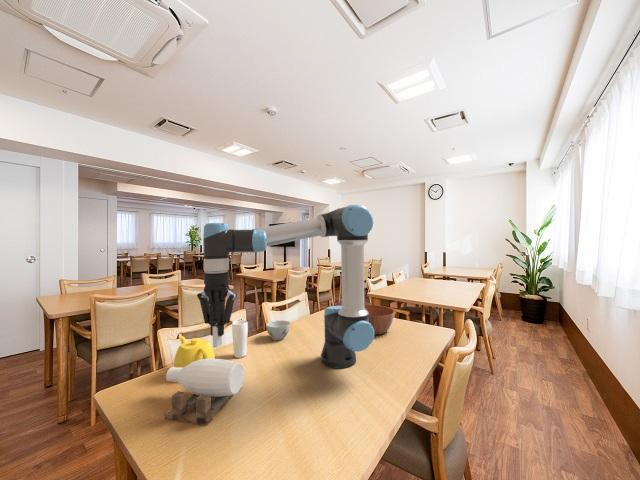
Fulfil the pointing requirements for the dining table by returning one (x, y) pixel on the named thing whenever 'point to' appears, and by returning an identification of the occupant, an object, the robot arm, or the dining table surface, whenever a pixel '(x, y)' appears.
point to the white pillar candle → (240, 338)
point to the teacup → (278, 329)
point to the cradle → (200, 402)
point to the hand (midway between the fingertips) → (217, 345)
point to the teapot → (192, 352)
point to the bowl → (380, 318)
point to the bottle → (209, 377)
